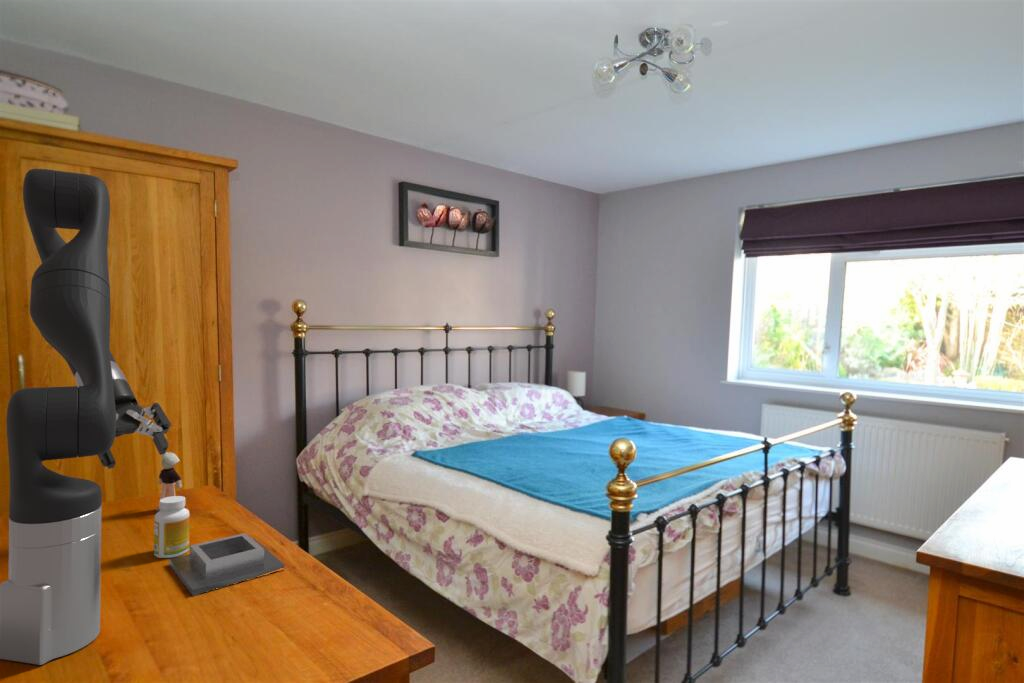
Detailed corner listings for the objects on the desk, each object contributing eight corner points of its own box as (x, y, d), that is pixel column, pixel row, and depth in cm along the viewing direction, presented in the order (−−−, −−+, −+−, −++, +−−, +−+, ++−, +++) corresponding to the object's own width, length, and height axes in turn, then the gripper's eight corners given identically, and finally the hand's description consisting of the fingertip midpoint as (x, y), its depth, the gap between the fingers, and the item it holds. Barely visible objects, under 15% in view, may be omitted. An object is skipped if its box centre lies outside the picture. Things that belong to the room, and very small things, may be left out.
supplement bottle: (195, 547, 102) (196, 495, 102) (175, 560, 97) (176, 505, 97) (168, 545, 103) (169, 493, 102) (146, 557, 97) (147, 502, 97)
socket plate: (284, 570, 95) (284, 550, 95) (192, 596, 85) (193, 573, 85) (254, 544, 105) (254, 525, 105) (169, 564, 95) (169, 544, 95)
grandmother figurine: (146, 511, 119) (147, 452, 119) (162, 505, 123) (163, 448, 123) (174, 516, 117) (175, 456, 117) (189, 510, 121) (190, 452, 120)
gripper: (63, 385, 99) (98, 459, 94) (151, 371, 110) (185, 437, 106) (56, 409, 103) (89, 482, 98) (141, 393, 114) (174, 458, 110)
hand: (139, 458), depth 102 cm, fingers open, 8 cm apart
